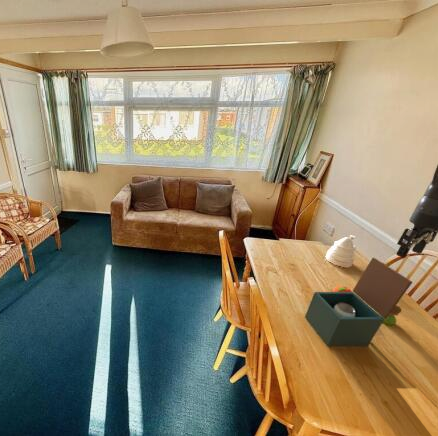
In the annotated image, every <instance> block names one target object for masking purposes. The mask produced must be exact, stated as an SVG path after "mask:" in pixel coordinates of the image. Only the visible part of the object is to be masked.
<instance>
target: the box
mask: <svg viewBox="0 0 438 436" xmlns="http://www.w3.org/2000/svg"><path fill="white" fill-rule="evenodd" d="M340 302H342V303H346V304H348V305H350V306H352V307H353V308H354V309H355V317H340V315H339V314H338V313H337V312H336V311H335V310H334V307H335V305H337V304H338V303H340ZM304 318H305V319H306V321H307V322H308V323H309V325H310V326H311V327H312V328H313V330H314V331H315V332H316V334H317V336H319V338H320V339H321V341H323V343H324V344H325V345H326V346H327V347H369V345H371V342H372V340H373V339H374V337H376V334H377V333H378V330H379V329H380V327H381V326H382V324H383V321H384V319H383V318H382V317H381V316H380V315H379V314H378V313H377V312H376V311H375V310H374V309H373V308H371V307H370V306H369V305H368V304H367V303H366V302H365V301H363V300H362V299H361V298H360V297H359V296H358V295H356V294H355V293H354V292H353V291H352V292H334V291H314V292H313V296H312V298H311V301H310V302H309V305H308V308H307V310H306V313H305V315H304Z"/></svg>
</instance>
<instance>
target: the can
mask: <svg viewBox="0 0 438 436" xmlns="http://www.w3.org/2000/svg"><path fill="white" fill-rule="evenodd" d="M334 310H335V311H336V312H337V313H338V314H339V315H340V317H355V309H354V308H353V307H352V306H350V305H348V304H346V303H342V302H340V303H338V304H337V305H335V307H334Z"/></svg>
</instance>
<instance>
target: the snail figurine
mask: <svg viewBox="0 0 438 436" xmlns="http://www.w3.org/2000/svg"><path fill="white" fill-rule="evenodd" d="M401 312H402V308H401V307H400V306H399V305H397V304H396V306H395V307H394V308H393V310H392V311H391V312H390V314H389V315H388V316H387V318H383V317H382V316H381V315H380V314H379V315H380V316H381V317H382V318H383V319H384V321H383V322H382V324H384V325H388V326H394V325H396V323H397V318H396V316H399V314H400V313H401Z"/></svg>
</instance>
